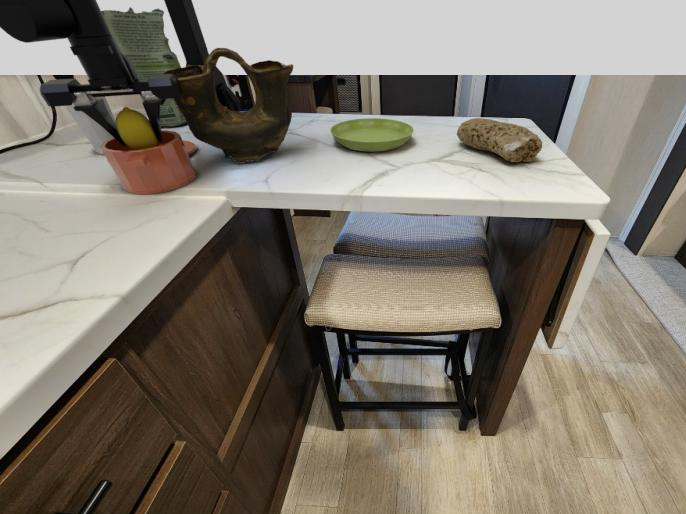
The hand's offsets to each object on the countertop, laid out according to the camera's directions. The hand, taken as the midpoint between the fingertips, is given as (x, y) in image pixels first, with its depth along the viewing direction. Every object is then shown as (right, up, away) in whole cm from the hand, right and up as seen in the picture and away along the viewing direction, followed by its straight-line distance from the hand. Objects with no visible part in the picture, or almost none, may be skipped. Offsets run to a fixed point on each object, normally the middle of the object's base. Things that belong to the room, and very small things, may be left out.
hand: (143, 143), depth 61 cm
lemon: (0, -2, +1) cm, 2 cm away
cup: (-21, +7, +17) cm, 28 cm away
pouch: (-17, +22, +34) cm, 45 cm away
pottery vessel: (+14, +4, +15) cm, 21 cm away
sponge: (+70, +7, +19) cm, 73 cm away
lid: (-7, +5, +15) cm, 17 cm away
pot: (0, -5, +5) cm, 7 cm away
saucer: (+41, +11, +23) cm, 48 cm away
